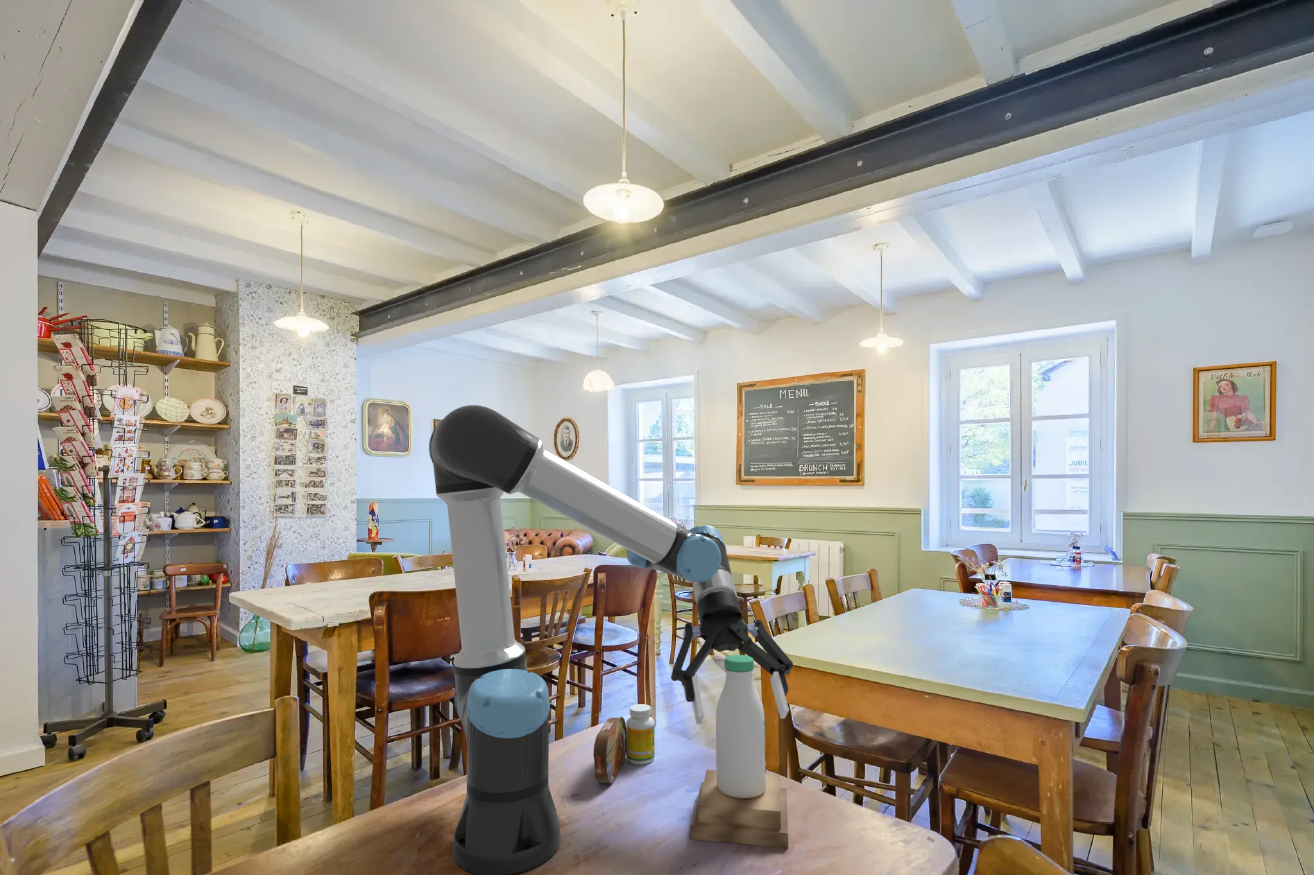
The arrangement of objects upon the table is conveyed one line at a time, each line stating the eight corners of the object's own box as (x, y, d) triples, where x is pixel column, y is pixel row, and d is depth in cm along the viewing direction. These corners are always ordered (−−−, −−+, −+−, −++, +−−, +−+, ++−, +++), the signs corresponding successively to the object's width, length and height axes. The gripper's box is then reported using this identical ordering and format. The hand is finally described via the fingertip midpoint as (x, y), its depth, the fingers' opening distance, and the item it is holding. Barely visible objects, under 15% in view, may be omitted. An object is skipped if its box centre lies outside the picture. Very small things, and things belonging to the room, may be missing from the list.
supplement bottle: (624, 755, 126) (624, 703, 127) (651, 752, 127) (651, 701, 128) (629, 766, 121) (629, 713, 122) (657, 763, 122) (657, 711, 123)
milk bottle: (765, 802, 98) (762, 665, 99) (713, 798, 99) (711, 663, 101) (767, 779, 105) (764, 652, 107) (719, 775, 107) (717, 650, 108)
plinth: (691, 839, 96) (690, 807, 97) (701, 794, 110) (701, 766, 110) (788, 848, 94) (787, 815, 94) (786, 800, 108) (786, 772, 108)
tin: (608, 792, 111) (608, 741, 112) (590, 791, 112) (590, 740, 112) (628, 755, 126) (628, 710, 127) (612, 754, 127) (612, 709, 127)
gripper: (778, 610, 122) (812, 723, 106) (646, 616, 118) (660, 734, 102) (788, 586, 117) (825, 700, 101) (650, 591, 113) (666, 711, 97)
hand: (742, 717), depth 102 cm, fingers open, 13 cm apart
